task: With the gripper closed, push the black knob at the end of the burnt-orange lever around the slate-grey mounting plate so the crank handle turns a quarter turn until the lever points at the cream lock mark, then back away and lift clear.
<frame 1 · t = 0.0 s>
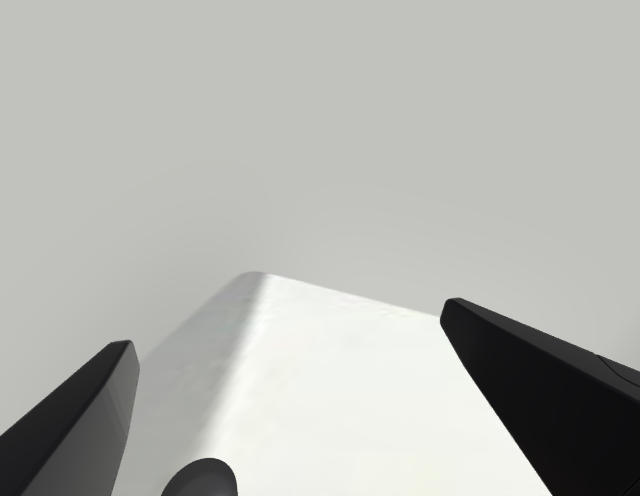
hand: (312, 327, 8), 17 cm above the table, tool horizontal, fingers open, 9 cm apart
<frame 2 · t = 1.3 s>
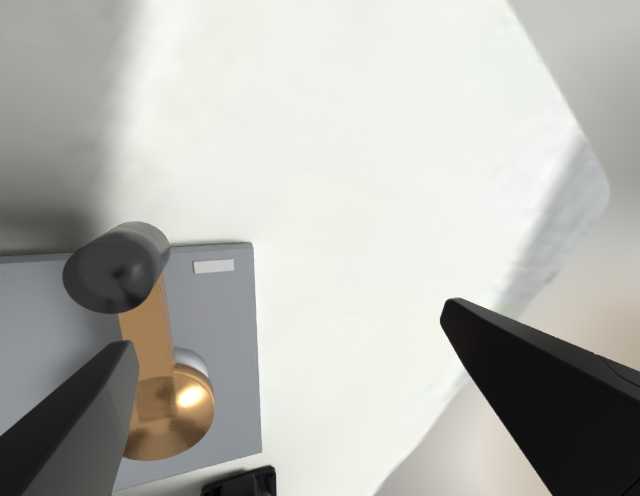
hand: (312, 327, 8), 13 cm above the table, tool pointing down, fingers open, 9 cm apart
crank handle: (144, 368, 15), point 6 cm above the table, hinge at 0.0°
coupling base: (173, 364, 21), on the table
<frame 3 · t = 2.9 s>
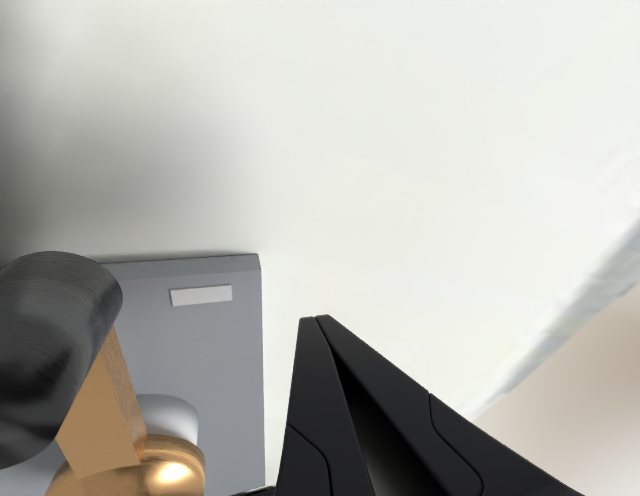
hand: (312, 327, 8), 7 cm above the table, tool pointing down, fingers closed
crank handle: (90, 475, 9), point 6 cm above the table, hinge at 0.0°
coupling base: (153, 401, 16), on the table
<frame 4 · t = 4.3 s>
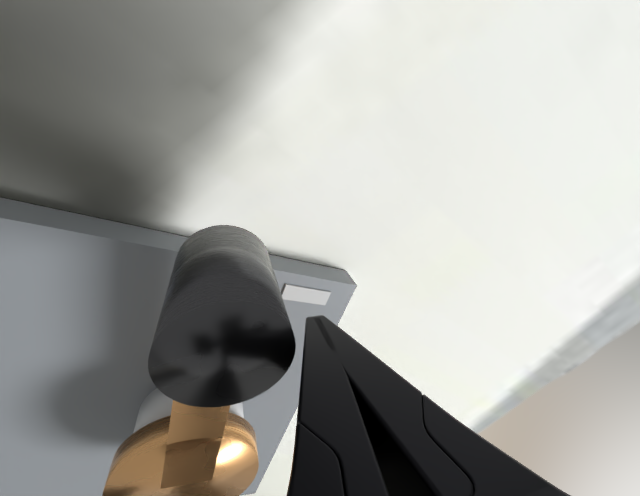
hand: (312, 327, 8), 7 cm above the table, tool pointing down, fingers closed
crank handle: (198, 438, 10), point 6 cm above the table, hinge at 5.2°, touching gripper
coupling base: (195, 384, 16), on the table
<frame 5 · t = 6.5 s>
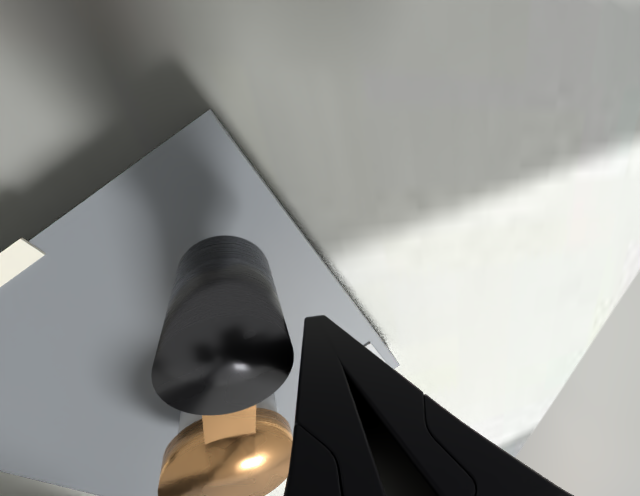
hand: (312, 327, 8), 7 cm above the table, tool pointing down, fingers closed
crank handle: (230, 437, 11), point 6 cm above the table, hinge at 51.8°, touching gripper
coupling base: (229, 383, 17), on the table
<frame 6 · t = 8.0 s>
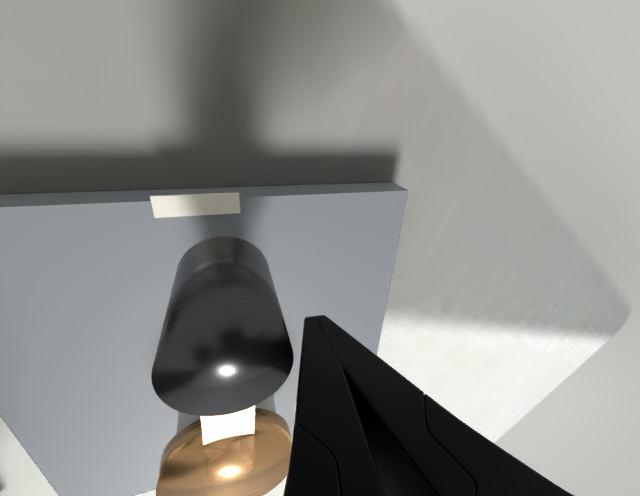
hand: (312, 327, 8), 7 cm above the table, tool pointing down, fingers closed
crank handle: (229, 437, 11), point 6 cm above the table, hinge at 85.7°, touching gripper
coupling base: (227, 383, 17), on the table
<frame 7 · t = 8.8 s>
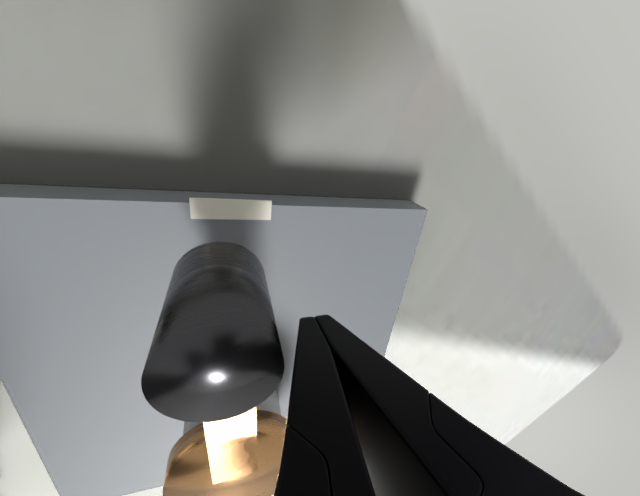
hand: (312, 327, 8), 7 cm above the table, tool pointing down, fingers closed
crank handle: (231, 440, 11), point 6 cm above the table, hinge at 92.5°
coupling base: (233, 385, 17), on the table
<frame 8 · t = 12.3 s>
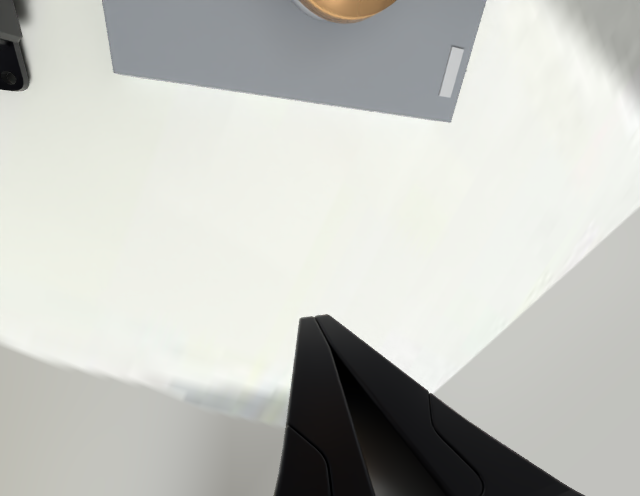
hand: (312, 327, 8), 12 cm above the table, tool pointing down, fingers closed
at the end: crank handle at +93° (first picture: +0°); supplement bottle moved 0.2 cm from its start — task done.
